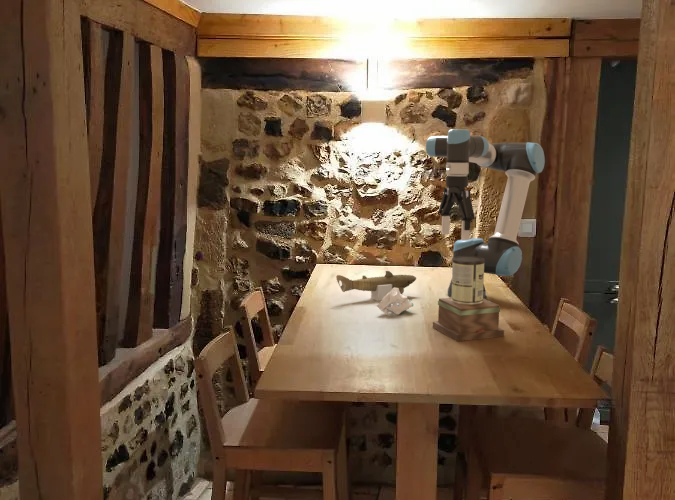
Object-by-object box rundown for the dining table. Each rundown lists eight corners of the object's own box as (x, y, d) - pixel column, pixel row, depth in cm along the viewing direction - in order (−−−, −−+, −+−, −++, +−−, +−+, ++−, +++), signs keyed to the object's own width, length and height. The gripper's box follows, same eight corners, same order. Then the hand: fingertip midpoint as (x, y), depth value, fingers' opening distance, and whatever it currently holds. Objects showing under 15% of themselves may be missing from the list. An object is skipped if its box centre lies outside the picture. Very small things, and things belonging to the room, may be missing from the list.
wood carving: (331, 300, 245) (331, 272, 243) (409, 292, 259) (409, 266, 257) (340, 306, 236) (341, 277, 235) (420, 297, 250) (421, 270, 249)
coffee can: (453, 296, 210) (454, 254, 208) (484, 298, 207) (486, 256, 205) (448, 303, 201) (449, 260, 199) (481, 306, 198) (483, 262, 195)
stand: (476, 322, 215) (478, 294, 213) (503, 336, 200) (505, 305, 198) (432, 327, 209) (433, 298, 208) (457, 341, 194) (458, 310, 193)
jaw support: (412, 308, 221) (393, 289, 222) (395, 325, 223) (376, 305, 224) (416, 301, 233) (398, 282, 233) (400, 316, 235) (381, 298, 236)
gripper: (430, 173, 224) (428, 232, 227) (466, 177, 201) (464, 242, 204) (448, 173, 226) (446, 231, 230) (487, 176, 203) (484, 241, 207)
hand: (455, 237), depth 217 cm, fingers open, 13 cm apart
